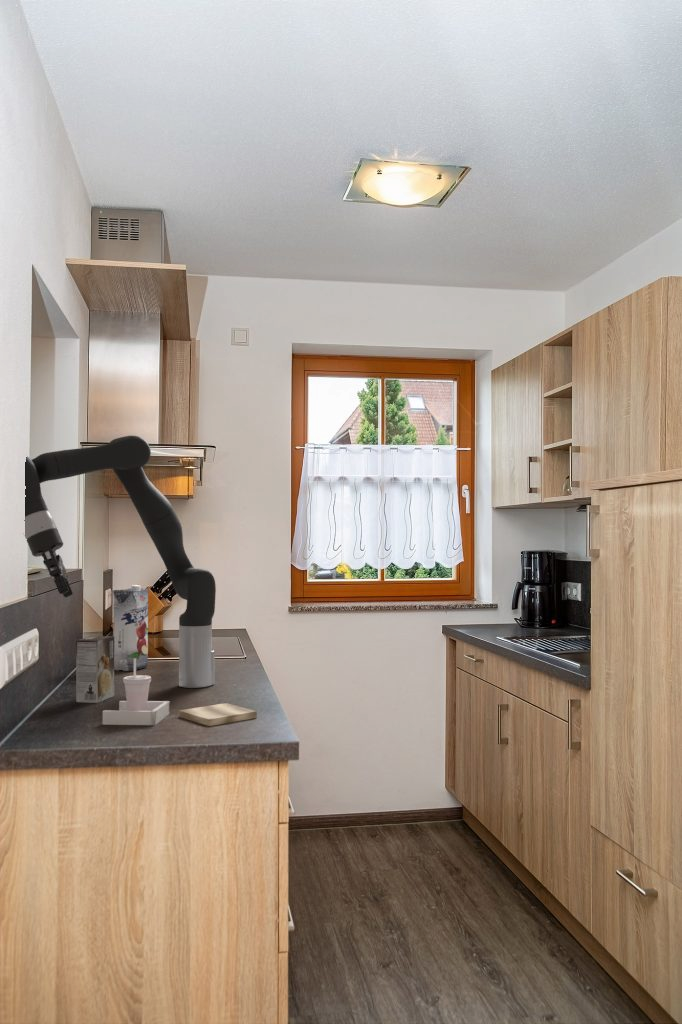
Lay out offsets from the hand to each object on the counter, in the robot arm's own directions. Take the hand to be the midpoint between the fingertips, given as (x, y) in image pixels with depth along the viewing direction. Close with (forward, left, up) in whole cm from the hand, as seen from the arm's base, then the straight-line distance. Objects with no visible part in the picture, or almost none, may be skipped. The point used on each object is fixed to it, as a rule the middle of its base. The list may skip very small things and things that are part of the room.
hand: (66, 594), depth 198 cm
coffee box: (-13, -12, -29) cm, 34 cm away
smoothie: (-10, +17, -29) cm, 35 cm away
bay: (-10, +17, -29) cm, 34 cm away
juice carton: (-43, -52, -29) cm, 74 cm away
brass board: (-25, +28, -29) cm, 47 cm away
